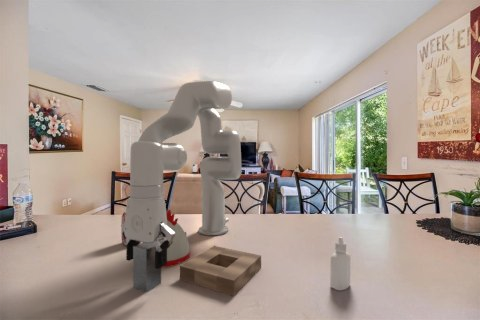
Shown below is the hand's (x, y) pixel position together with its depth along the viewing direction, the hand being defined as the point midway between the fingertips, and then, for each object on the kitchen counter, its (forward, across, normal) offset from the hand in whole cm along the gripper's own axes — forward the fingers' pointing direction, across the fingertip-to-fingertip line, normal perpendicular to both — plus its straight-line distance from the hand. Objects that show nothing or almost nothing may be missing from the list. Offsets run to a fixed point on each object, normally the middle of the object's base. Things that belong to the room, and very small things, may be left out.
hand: (146, 262), depth 59 cm
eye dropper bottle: (+6, +42, +22) cm, 48 cm away
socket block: (+6, +13, +14) cm, 20 cm away
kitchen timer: (+6, -8, +16) cm, 18 cm away
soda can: (+6, -28, +18) cm, 34 cm away
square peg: (+6, 0, 0) cm, 6 cm away
